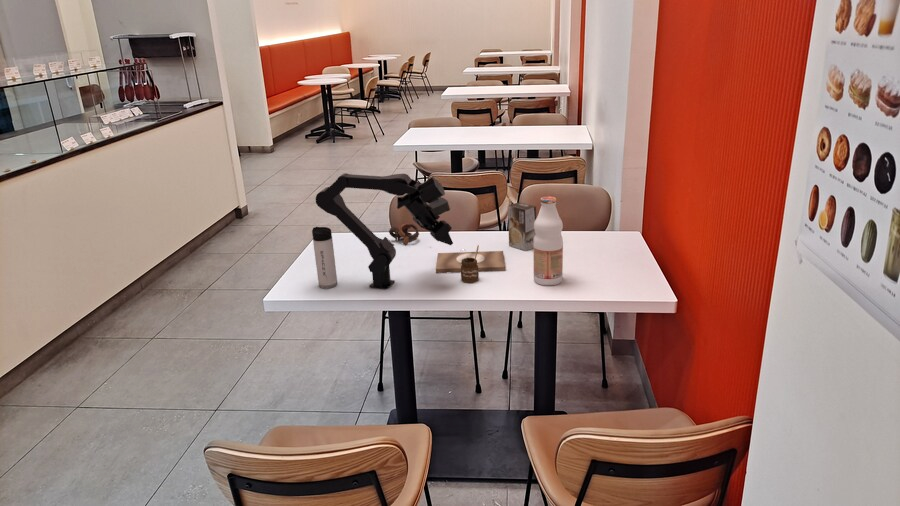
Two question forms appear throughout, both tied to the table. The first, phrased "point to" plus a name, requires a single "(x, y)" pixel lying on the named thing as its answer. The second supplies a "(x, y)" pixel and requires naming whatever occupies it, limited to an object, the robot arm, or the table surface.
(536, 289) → the table surface
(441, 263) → the walnut board
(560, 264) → the fruit juice
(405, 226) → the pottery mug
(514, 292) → the table surface
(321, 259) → the travel mug
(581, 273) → the table surface
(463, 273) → the utensil holder
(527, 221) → the coffee box
